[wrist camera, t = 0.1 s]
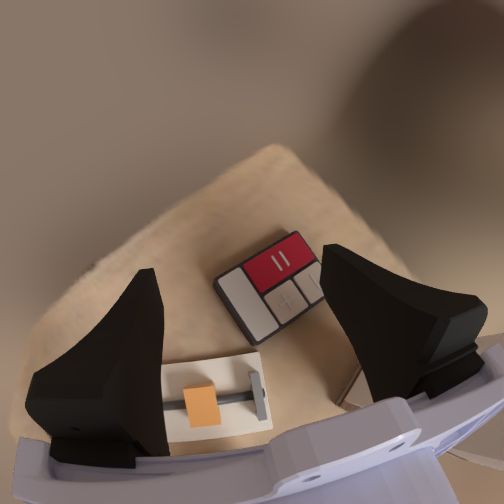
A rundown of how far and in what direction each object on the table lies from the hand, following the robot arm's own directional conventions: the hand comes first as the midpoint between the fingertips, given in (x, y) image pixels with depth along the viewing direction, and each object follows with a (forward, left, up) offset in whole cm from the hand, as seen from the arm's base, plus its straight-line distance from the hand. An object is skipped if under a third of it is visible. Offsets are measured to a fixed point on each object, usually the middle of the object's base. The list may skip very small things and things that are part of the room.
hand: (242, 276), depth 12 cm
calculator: (+4, -8, -32) cm, 34 cm away
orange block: (-11, +5, -31) cm, 33 cm away
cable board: (-11, +8, -32) cm, 35 cm away
